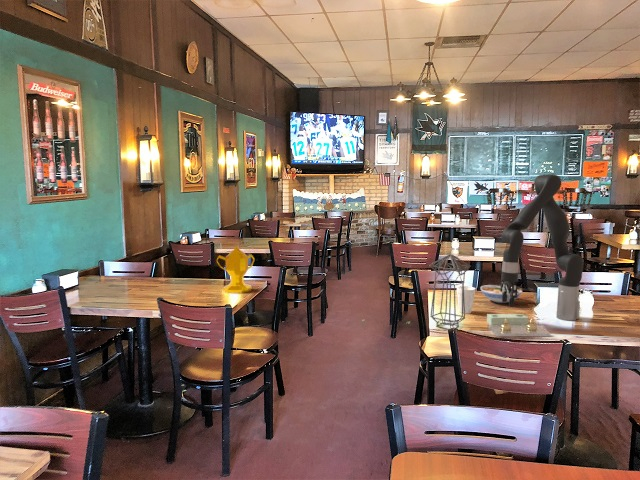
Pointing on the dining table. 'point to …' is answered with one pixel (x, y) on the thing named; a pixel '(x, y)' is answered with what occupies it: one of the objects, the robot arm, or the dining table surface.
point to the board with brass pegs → (518, 330)
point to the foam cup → (466, 298)
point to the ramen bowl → (497, 293)
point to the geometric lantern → (450, 287)
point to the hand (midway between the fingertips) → (507, 303)
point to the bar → (512, 318)
